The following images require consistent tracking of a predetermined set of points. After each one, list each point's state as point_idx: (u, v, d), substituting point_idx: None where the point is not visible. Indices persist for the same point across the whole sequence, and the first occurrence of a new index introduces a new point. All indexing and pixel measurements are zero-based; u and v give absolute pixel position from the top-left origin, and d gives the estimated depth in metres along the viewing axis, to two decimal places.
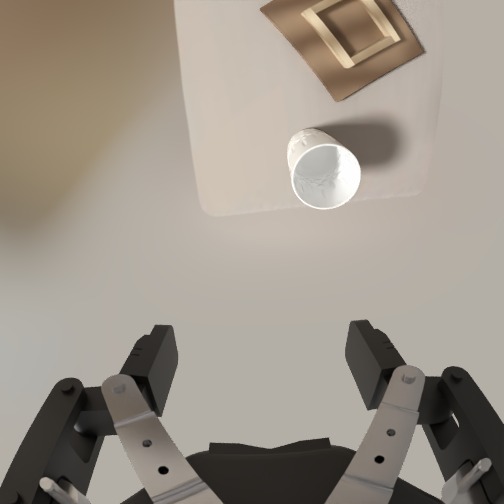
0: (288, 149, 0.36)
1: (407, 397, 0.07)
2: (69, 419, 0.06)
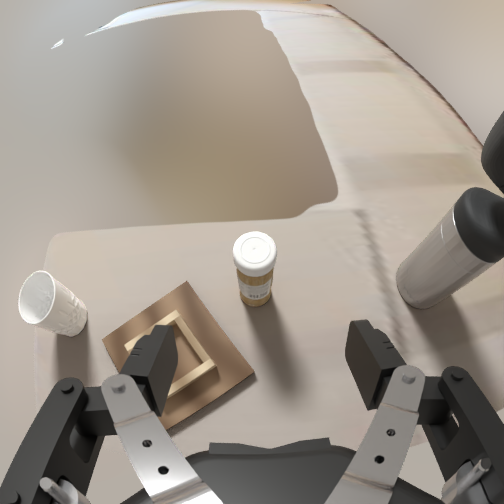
0: None
1: (407, 397, 0.07)
2: (69, 419, 0.06)
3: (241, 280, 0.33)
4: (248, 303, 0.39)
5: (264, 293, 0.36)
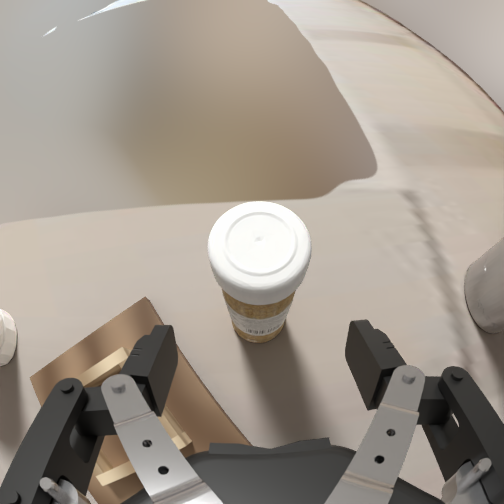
0: None
1: (407, 397, 0.07)
2: (69, 419, 0.06)
3: (230, 306, 0.16)
4: (246, 338, 0.22)
5: (275, 326, 0.19)
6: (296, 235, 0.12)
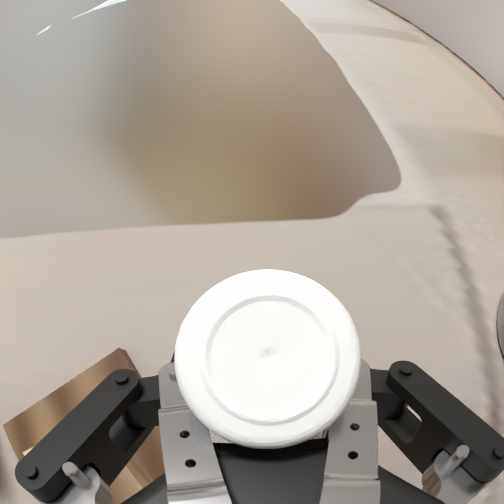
0: None
1: (357, 388, 0.07)
2: (114, 411, 0.07)
3: None
4: None
5: None
6: (337, 342, 0.06)
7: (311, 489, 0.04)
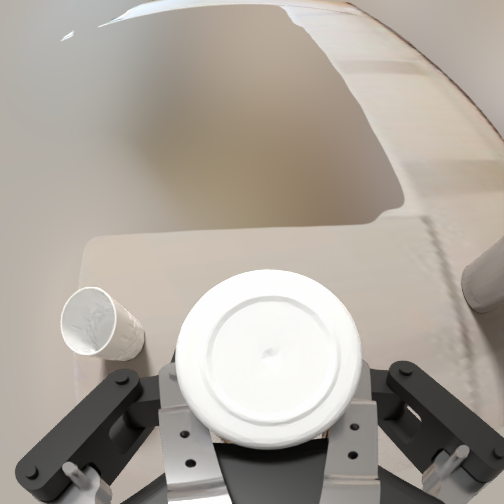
0: None
1: (357, 388, 0.07)
2: (114, 411, 0.07)
3: None
4: None
5: None
6: (338, 342, 0.06)
7: (311, 489, 0.04)
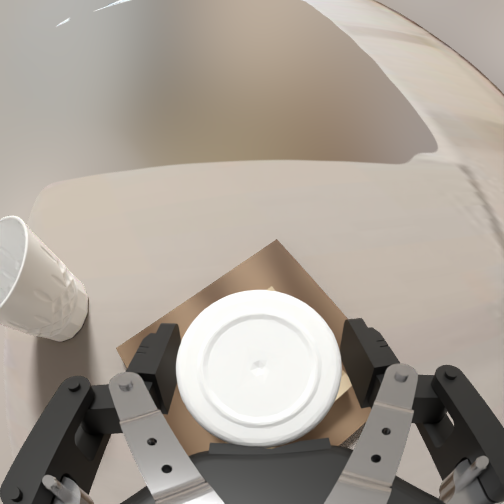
0: None
1: (400, 395, 0.07)
2: (75, 417, 0.06)
3: None
4: None
5: None
6: (319, 356, 0.07)
7: (328, 484, 0.05)
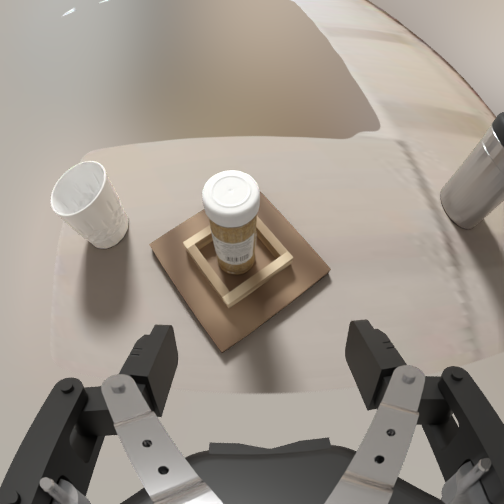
0: None
1: (407, 397, 0.07)
2: (69, 419, 0.06)
3: (215, 235, 0.25)
4: (226, 270, 0.32)
5: (245, 256, 0.29)
6: (251, 188, 0.22)
7: (330, 484, 0.05)
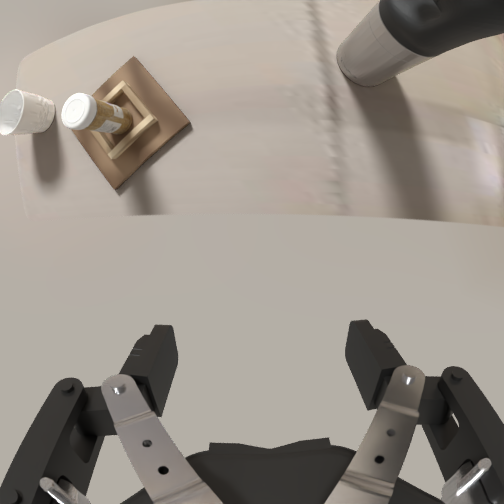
0: None
1: (407, 397, 0.07)
2: (69, 419, 0.06)
3: None
4: None
5: (112, 128, 0.33)
6: (84, 105, 0.25)
7: (330, 484, 0.05)
